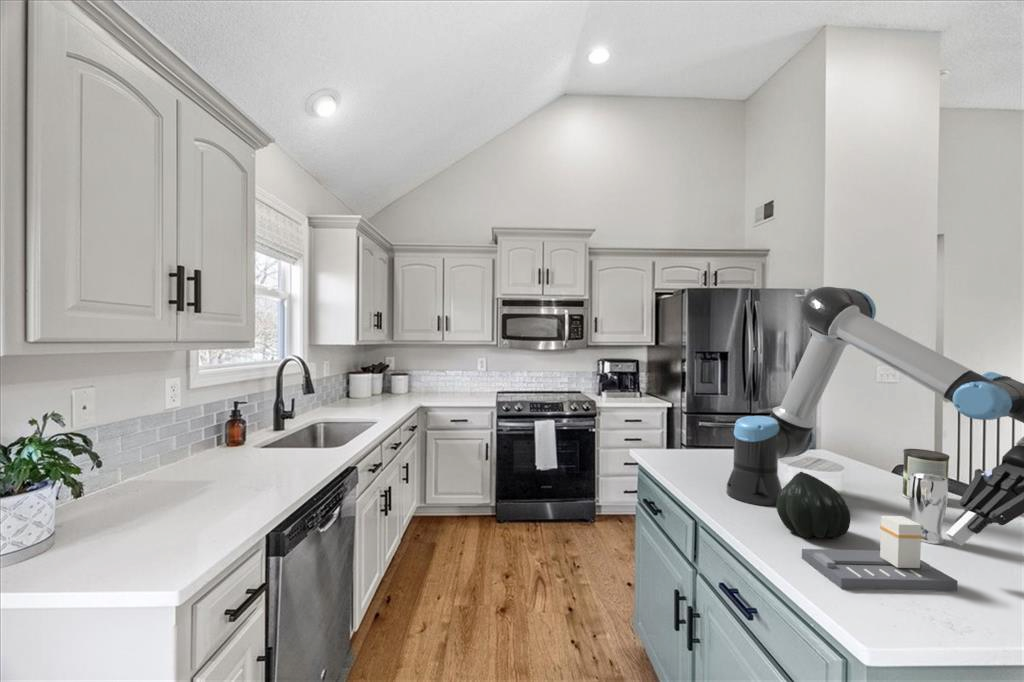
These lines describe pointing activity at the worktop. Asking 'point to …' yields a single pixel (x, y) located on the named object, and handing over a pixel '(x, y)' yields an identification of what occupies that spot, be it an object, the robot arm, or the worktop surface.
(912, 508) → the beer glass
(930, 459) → the coffee can
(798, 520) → the squash
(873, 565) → the panel
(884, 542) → the fader knob
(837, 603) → the worktop surface
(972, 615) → the worktop surface
